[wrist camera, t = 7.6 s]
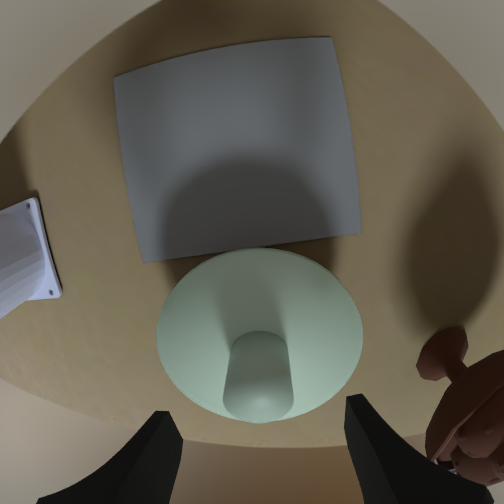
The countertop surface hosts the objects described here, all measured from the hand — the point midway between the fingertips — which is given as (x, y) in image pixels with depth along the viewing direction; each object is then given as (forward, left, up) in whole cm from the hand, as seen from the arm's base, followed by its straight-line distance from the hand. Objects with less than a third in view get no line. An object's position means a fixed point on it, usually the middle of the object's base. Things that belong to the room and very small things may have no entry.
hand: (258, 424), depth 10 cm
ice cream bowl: (+15, -7, -10) cm, 19 cm away
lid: (0, 0, -5) cm, 5 cm away
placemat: (0, +11, -9) cm, 14 cm away
